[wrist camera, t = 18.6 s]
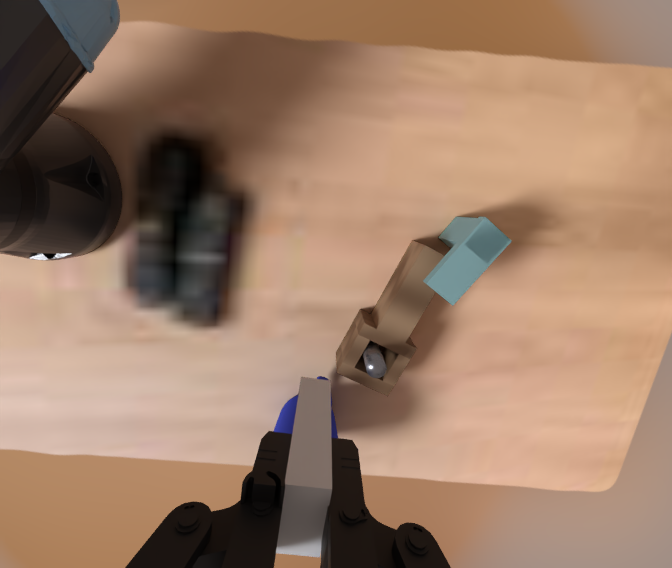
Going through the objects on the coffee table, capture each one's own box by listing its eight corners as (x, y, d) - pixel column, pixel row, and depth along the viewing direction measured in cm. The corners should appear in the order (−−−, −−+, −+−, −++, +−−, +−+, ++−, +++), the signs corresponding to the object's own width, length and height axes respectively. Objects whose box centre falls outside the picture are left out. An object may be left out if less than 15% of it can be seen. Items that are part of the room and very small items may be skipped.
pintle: (355, 338, 40) (362, 370, 32) (366, 326, 40) (375, 355, 32) (368, 348, 40) (377, 381, 32) (378, 336, 40) (390, 367, 32)
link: (401, 234, 37) (412, 238, 32) (448, 259, 38) (466, 267, 33) (335, 353, 40) (337, 373, 35) (380, 374, 41) (387, 396, 36)
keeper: (407, 269, 38) (426, 283, 31) (454, 215, 37) (485, 216, 30) (429, 287, 39) (452, 305, 31) (476, 234, 37) (511, 240, 30)
